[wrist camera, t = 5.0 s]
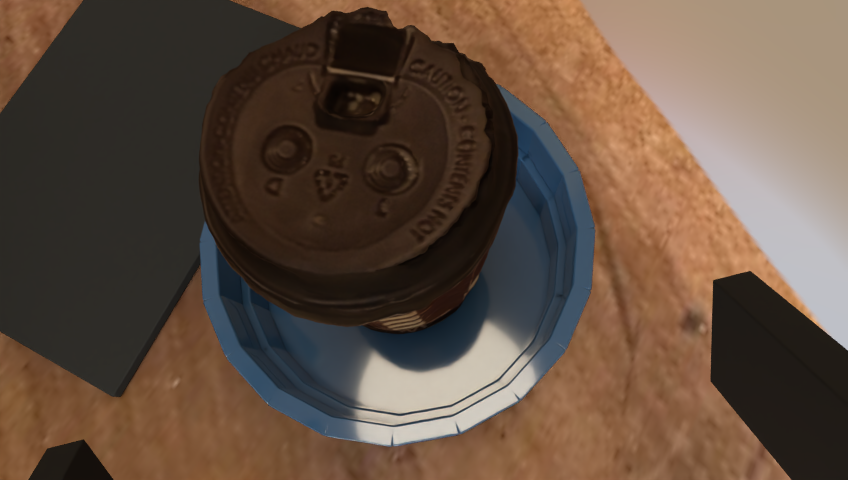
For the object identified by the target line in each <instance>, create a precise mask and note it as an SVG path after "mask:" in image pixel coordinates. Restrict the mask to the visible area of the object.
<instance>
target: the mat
mask: <svg viewBox="0 0 848 480" xmlns="http://www.w3.org/2000/svg"><path fill="white" fill-rule="evenodd" d="M299 29H301V28H299V27H296V26H294V25H291V24H288V23H286V22H283V21H281V20H278V19H276V18H273V17H271V16H268V15H265V14H263V13H260V12H258V11H255V10H253V9H250V8H248V7H245V6H242V5H240V4H237V3H235V2H232V1H230V0H83V2H82V3H81V4H80V6H79V7H78V8H77V10H76V11H75V13H74V14H73V15H72V17H71V18H70V19H69V21H68V22H67V23H66V25H65V26H64V27H63V29H62V30H61V32H60V33H59V34H58V36H57V37H56V38H55V40H54V41H53V42H52V44H51V45H50V47H49V48H48V49H47V51H46V52H45V53H44V55H43V56H42V57H41V59H40V60H39V61H38V63H37V64H36V66H35V67H34V68H33V70H32V71H31V72H30V74H29V75H28V76H27V78H26V79H25V81H24V82H23V83H22V85H21V86H20V87H19V89H18V90H17V91H16V93H15V94H14V95H13V97H12V98H11V100H10V101H9V102H8V104H7V105H6V106H5V108H4V109H3V110H2V112H1V113H0V332H2V333H4V334H5V335H7V336H9V337H11V338H12V339H14V340H16V341H17V342H19V343H21V344H23V345H24V346H26V347H28V348H30V349H31V350H33V351H35V352H36V353H38V354H40V355H42V356H43V357H45V358H47V359H49V360H50V361H52V362H54V363H55V364H57V365H59V366H61V367H62V368H64V369H66V370H67V371H69V372H71V373H73V374H74V375H76V376H78V377H80V378H81V379H83V380H85V381H86V382H88V383H90V384H92V385H93V386H95V387H97V388H99V389H100V390H102V391H104V392H105V393H107V394H109V395H111V396H112V397H120V396H121V395H122V393H123V392H124V390H125V388H126V387H127V385H128V383H129V382H130V380H131V378H132V377H133V375H134V373H135V372H136V370H137V368H138V367H139V365H140V363H141V362H142V360H143V358H144V357H145V355H146V353H147V352H148V350H149V348H150V347H151V345H152V343H153V342H154V340H155V338H156V337H157V335H158V333H159V332H160V330H161V328H162V327H163V325H164V323H165V322H166V320H167V318H168V317H169V315H170V313H171V312H172V310H173V308H174V306H175V305H176V303H177V301H178V300H179V298H180V296H181V295H182V293H183V291H184V290H185V288H186V286H187V285H188V283H189V281H190V280H191V278H192V276H193V275H194V273H195V271H196V270H197V268H198V266H199V265H200V263H201V260H200V237H201V233H202V230H203V226H204V222H205V216H204V212H203V206H202V201H201V198H200V190H199V171H200V166H199V151H200V141H201V135H202V123H203V119H204V115H205V110H206V106H207V104H208V103H209V102H210V100H211V97H212V91H213V89H214V87H215V86H216V84H217V82H218V81H219V79H220V77H221V76H222V75H224V74H226V73H228V71H229V70H231V69H233V68H236V67H238V66H239V65H240V64H241V62H242V60H243V59H244V58H245V57H246V56H247V54H248V53H249V52H253V51H255V50H257V49H259V48H260V47H261V46H265V45H267V44H270V43H273V42H275V41H277V40H280V39H282V38H283V37H285V36H287V35H289V34H291V33H293V32H295V31H297V30H299Z"/></svg>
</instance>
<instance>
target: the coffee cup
mask: <svg viewBox="0 0 848 480" xmlns="http://www.w3.org/2000/svg"><path fill="white" fill-rule="evenodd" d="M485 70H486V69H485V67H484V66H483V65H482V63H480V62H475V61H473V60H471V59H469V58H467V56H466V55H465V54H462V53H459V52H458V50H457V48H456V47H455V45H454V43H442V42H441V41H436V42H435V41H431V40H430V38H429V37H428V36H427V35H425V34H424V33H422V32H421V31H420V30H418V29H417V28H416V27H415V26H413V25H409V26H406V27H404V28H403V29H397V28H396V27H394V26H393V25H392V22H391V20H390V19H389V17H388V13H387V12H386V11H380V10H377V9H373V8H369V7H365V8H360V9H358V10H356V11H354V12H351V13H343V12H340V11H331V12H330V13H328V14H327V15H326V16H325V17H322V16H321V17H320V18H318V19H317V20H316V21H314V22H313V23H312V24H310V25H307V26H305V27H303V28H301V29H299V30H297V31H295V32H293V33H291V34H289V35H287V36H285V37H283V38H282V39H280V40H277V41H275V42H273V43H270V44H267V45H265V46H261V47H260V48H259V49H257V50H255V51H253V52H249V53H248V54H247V56H246V57H245V58H244V59H243V60H242V62H241V64H240V65H239V66H238V67H236V68H233V69H231V70H229V71H228V73H226V74H224V75H222V76H221V77H220V79H219V81H218V82H217V84H216V86H215V87H214V89H213V91H212V97H211V100H210V102H209V103H208V104H207V106H206V110H205V115H204V119H203V123H202V135H201V141H200V151H199V166H200V171H199V190H200V198H201V201H202V206H203V212H204V216H205V222H206V224H207V226H208V229H209V231H210V233H211V234H212V236H213V238H214V241H215V243H216V245H217V247H218V249H219V250H220V252H221V253H222V255H223V257H224V258H225V259H226V261H227V262H228V264H229V265H230V266H231V268H232V269H233V270H234V271H235V272H236V273H238V274H239V275H240V276H241V277H242V278H243V279H244V281H245V282H246V283H247V285H248V286H249V287H250V288H251V289H252V290H253V291H255V292H256V293H257V294H259V295H261V296H262V297H264V298H265V299H266V300H267V301H269V302H271V303H272V304H274V305H276V306H278V307H279V308H281V309H283V310H285V311H286V312H288V313H289V314H291V315H293V316H294V317H298V318H303V319H307V320H310V321H314V322H317V323H323V324H326V325H335V326H343V327H353V326H361V325H362V326H364V327H367V328H369V329H371V330H374V331H378V332H382V333H391V334H405V333H412V332H417V331H421V330H424V329H426V328H429V327H431V326H433V325H435V324H437V323H439V322H441V321H443V320H444V319H446V318H447V317H448V316H450V315H451V314H453V313H454V312H455V311H457V309H458V308H459V307H460V306H461V304H462V303H463V301H464V299H465V297H466V295H467V294H468V293H469V292H470V290H471V289H472V288H473V287H474V285H475V284H476V282H477V280H478V278H479V273H480V272H481V269H482V267H483V265H484V262H485V260H486V258H487V255H488V252H489V249H490V247H491V246H492V244H493V242H494V239H495V237H496V235H497V232H498V229H499V227H500V224H501V221H502V218H503V216H504V213H505V210H506V207H507V205H508V203H509V201H510V199H511V197H512V196H513V193H514V190H515V187H516V175H517V162H518V135H517V133H516V129H515V126H514V123H513V119H512V116H511V113H510V110H509V108H508V105H507V103H506V101H505V99H504V97H503V96H502V94H501V92H500V89H499V88H498V86H497V85H496V83H495V82H494V80H493V79H492V78H490V77H489V76H488V74H487V73H486V71H485Z"/></svg>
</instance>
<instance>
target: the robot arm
mask: <svg viewBox="0 0 848 480" xmlns="http://www.w3.org/2000/svg"><path fill="white" fill-rule="evenodd" d="M711 382H712V383H713V385H714V386H715V387H716V388H717V390H718V391H719V392H720V393H721V394H722V396H723V397H724V398H725V399H726V400H727V402H728V403H729V404H730V405H731V407H732V408H733V409H734V410H735V411H736V413H737V414H738V415H739V416H740V418H741V419H742V420H743V421H744V422H745V424H746V425H747V426H748V427H749V428H750V430H751V431H752V432H753V433H754V435H755V436H756V437H757V438H758V439H759V441H760V442H761V443H762V444H763V445H764V447H765V448H766V449H767V450H768V452H769V453H770V454H771V455H772V456H773V458H774V459H775V460H776V461H777V463H778V464H779V465H780V466H781V467H782V469H783V470H784V471H785V472H786V473H787V475H788V476H789V477H790V478H791V480H848V350H846V349H845V348H844V347H843V346H842V345H840V344H839V343H838V342H837V341H835V340H834V339H833V338H832V337H831V336H829V335H828V334H827V333H826V332H824V331H823V330H822V329H821V328H820V327H818V326H817V325H816V324H815V323H813V322H812V321H811V320H810V319H809V318H807V317H806V316H805V315H804V314H802V313H801V312H800V311H799V310H797V309H796V308H795V307H794V306H793V305H791V304H790V303H789V302H788V301H786V300H785V299H784V298H783V297H782V296H780V295H779V294H778V293H777V292H775V291H774V290H773V289H772V288H771V287H769V286H768V285H767V284H766V283H764V282H763V281H762V280H761V279H760V278H758V277H757V276H756V275H755V274H753V273H752V272H751V271H748V272H744V273H740V274H736V275H732V276H728V277H724V278H720V279H716V280H713V308H712V346H711ZM29 480H113V478H112V477H111V476H110V474H109V473H108V472H107V470H106V469H105V468H104V466H103V465H102V463H101V462H100V461H99V459H98V458H97V457H96V455H95V454H94V453H93V451H92V450H91V449H90V447H89V446H88V444H87V443H86V442H85V440H80V441H76V442H72V443H68V444H64V445H60V446H56V447H52V448H48V449H47V450H46V452H45V453H44V455H43V457H42V458H41V460H40V462H39V463H38V465H37V467H36V468H35V470H34V471H33V473H32V475H31V476H30V478H29Z"/></svg>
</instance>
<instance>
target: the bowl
mask: <svg viewBox="0 0 848 480" xmlns="http://www.w3.org/2000/svg"><path fill="white" fill-rule="evenodd" d="M496 85H497V86H498V88H499V89H500V92H501V94H502V96H503V97H504V99H505V101H506V103H507V105H508V108H509V110H510V113H511V116H512V119H513V123H514V126H515V129H516V133H517V135H518V162H517V175H516V187H515V190H514V193H513V196H512V197H511V199H510V201H509V203H508V205H507V207H506V210H505V213H504V216H503V218H502V221H501V224H500V227H499V229H498V232H497V235H496V237H495V239H494V242H493V244H492V246H491V247H490V249H489V252H488V255H487V258H486V260H485V262H484V265H483V267H482V269H481V272H480V273H479V278H478V280H477V282H476V284H475V285H474V287H473V288H472V289H471V290H470V292H469V293H468V294H467V295H466V297H465V299H464V301H463V303H462V304H461V306H460V307H459V308H458V309H457V311H455V312H454V313H453V314H451V315H450V316H448V317H447V318H446V319H444V320H443V321H441V322H439V323H437V324H435V325H433V326H431V327H429V328H426V329H424V330H421V331H417V332H412V333H405V334H391V333H382V332H378V331H374V330H371V329H369V328H367V327H364V326H362V325H361V326H353V327H343V326H335V325H326V324H323V323H317V322H314V321H310V320H307V319H303V318H298V317H294V316H293V315H291V314H289V313H288V312H286V311H285V310H283V309H281V308H279V307H278V306H276V305H274V304H272V303H271V302H269V301H267V300H266V299H265V298H264V297H262V296H261V295H259V294H257V293H256V292H255V291H253V290H252V289H251V288H250V287H249V286H248V285H247V283H246V282H245V281H244V279H243V278H242V277H241V276H240V275H239V274H238V273H236V272H235V271H234V270H233V269H232V268H231V266H230V265H229V264H228V262H227V261H226V259H225V258H224V257H223V255H222V253H221V252H220V250H219V249H218V247H217V245H216V243H215V241H214V238H213V236H212V234H211V233H210V231H209V229H208V226H207V224H206V222H204V226H203V230H202V233H201V237H200V260H201V278H202V295H203V300H204V305H205V308H206V310H207V313H208V315H209V318H210V320H211V322H212V325H213V327H214V330H215V332H216V335H217V337H218V340H219V342H220V345H221V347H222V349H223V352H224V354H225V356H226V357H227V360H228V361H229V362H230V363H231V364H232V365H233V366H234V367H235V369H236V370H237V371H238V372H239V373H240V374H241V375H242V376H243V378H244V379H245V380H246V381H247V382H248V383H249V384H250V385H251V387H252V388H253V389H254V390H255V391H256V392H257V393H258V394H259V396H260V397H261V398H262V399H263V400H264V401H265V402H266V403H267V404H268V405H269V406H270V407H272V408H274V409H276V410H278V411H279V412H281V413H283V414H285V415H287V416H289V417H290V418H292V419H294V420H296V421H298V422H300V423H301V424H303V425H305V426H307V427H309V428H311V429H312V430H314V431H316V432H318V433H320V434H322V435H323V436H326V437H332V438H338V439H344V440H351V441H357V442H363V443H369V444H376V445H382V446H388V447H392V446H394V447H395V446H401V445H407V444H412V443H418V442H423V441H429V440H435V439H440V438H446V437H452V436H457V435H459V434H463V433H465V432H466V431H468V430H470V429H472V428H474V427H475V426H477V425H479V424H481V423H483V422H484V421H486V420H488V419H490V418H492V417H493V416H495V415H497V414H499V413H501V412H502V411H504V410H506V409H508V408H510V407H511V406H513V405H515V404H517V403H519V401H521V400H522V399H523V398H524V397H525V396H526V395H527V394H528V393H529V392H530V390H531V389H532V388H533V387H534V386H535V385H536V384H537V383H538V382H539V380H540V379H541V378H542V377H543V376H544V375H545V374H546V373H547V372H548V370H549V369H550V368H551V367H552V366H553V365H554V364H555V363H556V362H557V360H558V359H559V358H560V357H561V356H562V355H563V354H564V353H565V350H566V349H567V347H568V345H569V343H570V340H571V338H572V336H573V333H574V331H575V328H576V326H577V324H578V321H579V319H580V317H581V314H582V312H583V310H584V307H585V305H586V302H587V300H588V298H589V295H590V293H591V291H590V290H591V288H592V275H593V259H594V244H595V224H594V221H593V217H592V213H591V210H590V206H589V202H588V199H587V195H586V191H585V188H584V184H583V181H582V177H581V173H580V171H578V170H579V169H578V167H577V165H576V164H575V162H574V161H573V160H572V158H571V157H570V155H569V154H568V152H567V151H566V149H565V148H564V146H563V145H562V143H561V142H560V140H559V139H558V137H557V136H556V134H555V133H554V131H553V130H552V128H551V127H550V125H549V124H548V123H547V122H546V121H545V120H544V119H543V118H542V117H540V116H539V115H538V114H537V113H535V112H534V111H533V110H532V109H530V108H529V107H528V106H526V105H525V104H524V103H523V102H521V101H520V100H519V99H518V98H516V97H515V96H514V95H512V94H511V93H510V92H509V91H507V90H506V89H505V88H503V87H502V86H501V85H498V84H496Z"/></svg>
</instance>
